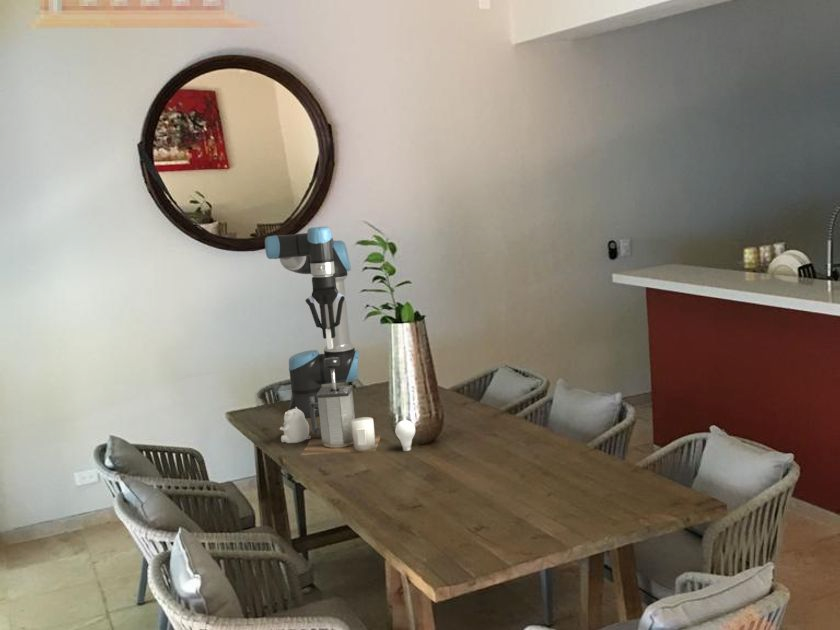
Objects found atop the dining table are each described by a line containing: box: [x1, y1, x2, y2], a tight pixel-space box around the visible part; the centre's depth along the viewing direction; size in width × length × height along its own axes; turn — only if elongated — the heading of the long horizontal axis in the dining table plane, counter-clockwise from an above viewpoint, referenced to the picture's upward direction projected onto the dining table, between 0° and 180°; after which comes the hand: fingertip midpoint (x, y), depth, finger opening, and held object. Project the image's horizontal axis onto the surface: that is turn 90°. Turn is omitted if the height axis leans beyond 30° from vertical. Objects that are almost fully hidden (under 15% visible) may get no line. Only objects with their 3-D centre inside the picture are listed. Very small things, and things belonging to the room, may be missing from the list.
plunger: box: [324, 357, 340, 391], centre depth 283 cm, size 8×8×18 cm
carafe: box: [309, 384, 356, 448], centre depth 285 cm, size 11×14×18 cm
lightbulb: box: [394, 419, 416, 452], centre depth 273 cm, size 6×6×11 cm
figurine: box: [278, 407, 311, 444], centre depth 295 cm, size 10×10×12 cm
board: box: [300, 434, 382, 456], centre depth 284 cm, size 16×24×2 cm, turn 87°
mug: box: [351, 416, 376, 452], centre depth 278 cm, size 9×7×9 cm
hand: (330, 348), depth 281 cm, fingers closed
